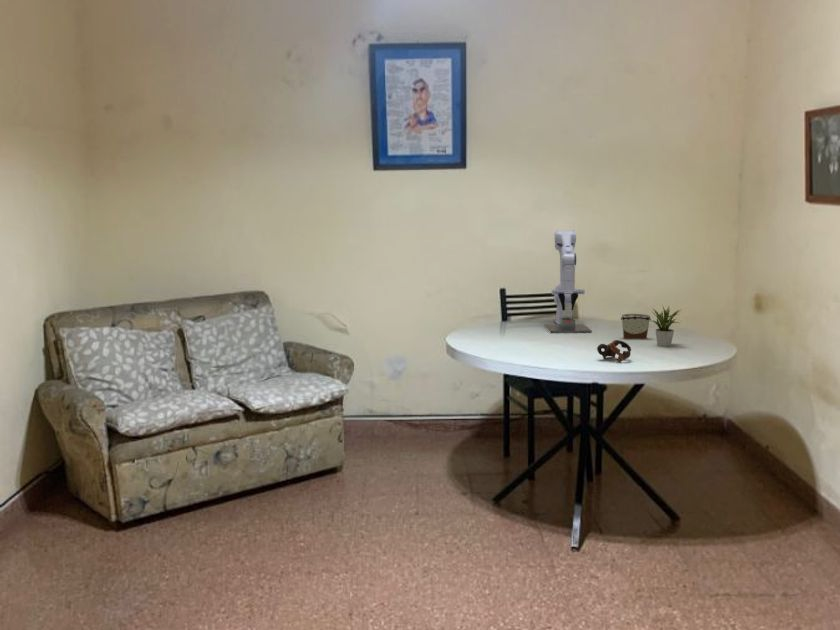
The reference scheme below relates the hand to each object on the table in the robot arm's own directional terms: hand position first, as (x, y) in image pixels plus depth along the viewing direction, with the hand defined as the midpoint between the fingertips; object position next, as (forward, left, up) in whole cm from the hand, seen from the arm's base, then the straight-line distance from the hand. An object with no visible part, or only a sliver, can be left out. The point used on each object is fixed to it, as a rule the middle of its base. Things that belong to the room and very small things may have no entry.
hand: (567, 310), depth 336 cm
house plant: (+40, +32, -9) cm, 52 cm away
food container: (+22, +24, -9) cm, 34 cm away
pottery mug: (+65, +4, -9) cm, 66 cm away
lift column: (0, 0, -5) cm, 5 cm away
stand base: (0, 0, -9) cm, 9 cm away
